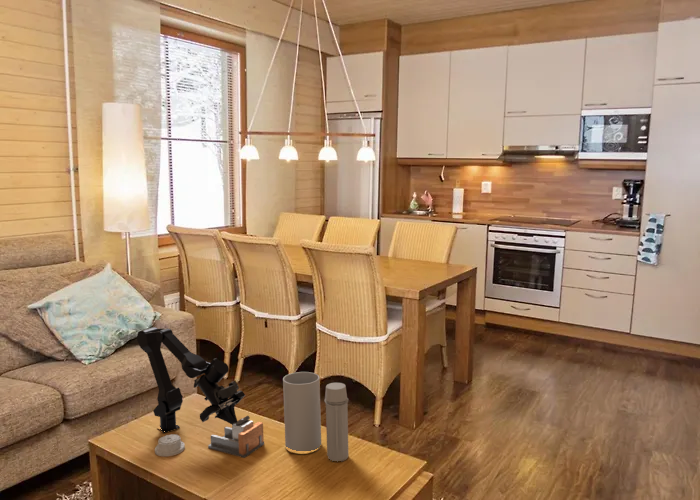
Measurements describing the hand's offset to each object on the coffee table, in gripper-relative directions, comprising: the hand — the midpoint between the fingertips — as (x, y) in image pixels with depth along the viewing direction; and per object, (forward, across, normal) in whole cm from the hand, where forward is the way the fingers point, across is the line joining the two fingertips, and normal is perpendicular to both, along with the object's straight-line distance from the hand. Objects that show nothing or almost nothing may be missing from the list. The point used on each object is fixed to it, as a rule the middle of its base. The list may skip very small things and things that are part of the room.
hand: (236, 425), depth 196 cm
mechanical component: (-8, -12, +20) cm, 25 cm away
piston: (+7, 0, +3) cm, 7 cm away
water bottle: (+31, +8, -20) cm, 38 cm away
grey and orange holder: (+5, 0, +6) cm, 8 cm away
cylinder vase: (+20, +10, -10) cm, 25 cm away
